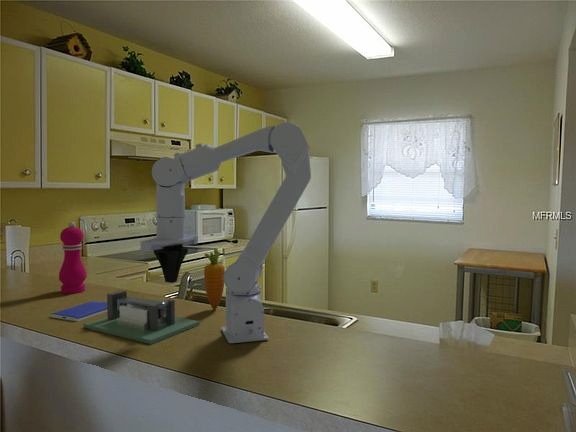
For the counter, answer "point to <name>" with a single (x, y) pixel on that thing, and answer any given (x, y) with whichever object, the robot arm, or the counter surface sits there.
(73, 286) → the pepper mill
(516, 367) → the counter surface
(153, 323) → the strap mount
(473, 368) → the counter surface
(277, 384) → the counter surface
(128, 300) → the metal bar
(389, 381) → the counter surface
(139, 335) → the motherboard
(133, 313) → the heat sink
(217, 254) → the carrot
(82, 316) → the hard drive
